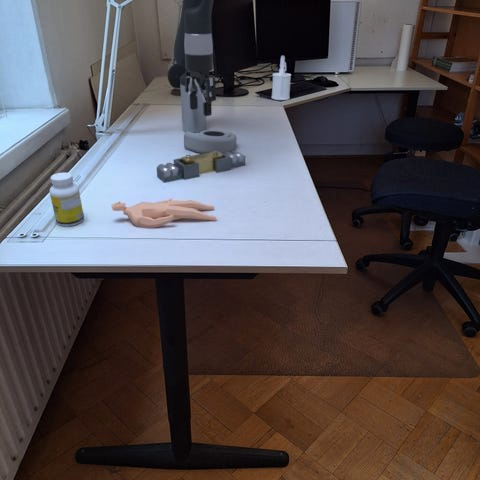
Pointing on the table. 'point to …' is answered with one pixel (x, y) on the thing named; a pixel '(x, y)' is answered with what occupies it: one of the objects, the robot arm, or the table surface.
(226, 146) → the turbocharger housing
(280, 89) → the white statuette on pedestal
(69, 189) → the pill bottle
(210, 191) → the table surface
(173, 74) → the dark grey lump
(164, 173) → the chain ends
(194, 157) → the brass block with pins
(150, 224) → the male figurine
